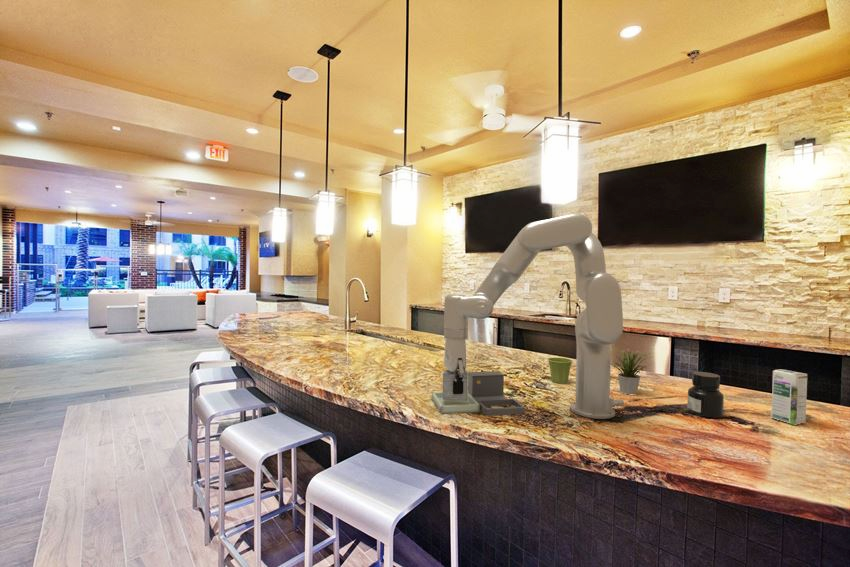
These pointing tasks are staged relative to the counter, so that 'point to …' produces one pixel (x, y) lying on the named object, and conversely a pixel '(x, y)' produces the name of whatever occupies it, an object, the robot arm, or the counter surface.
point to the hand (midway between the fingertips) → (455, 390)
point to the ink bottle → (705, 395)
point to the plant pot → (559, 369)
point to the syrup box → (789, 396)
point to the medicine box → (448, 386)
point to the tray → (455, 404)
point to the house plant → (629, 372)
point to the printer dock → (491, 393)
